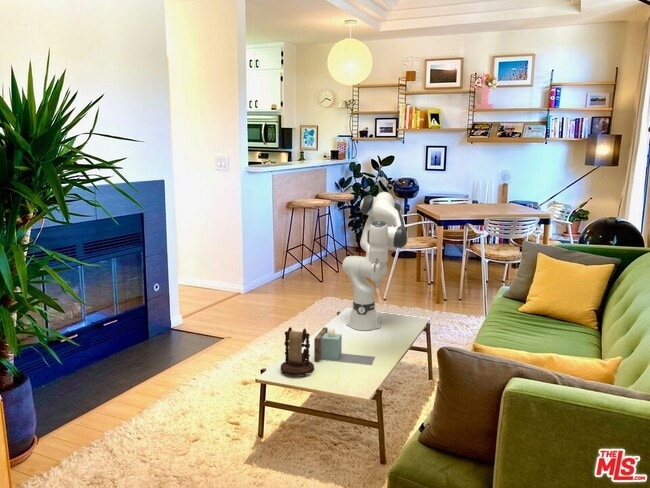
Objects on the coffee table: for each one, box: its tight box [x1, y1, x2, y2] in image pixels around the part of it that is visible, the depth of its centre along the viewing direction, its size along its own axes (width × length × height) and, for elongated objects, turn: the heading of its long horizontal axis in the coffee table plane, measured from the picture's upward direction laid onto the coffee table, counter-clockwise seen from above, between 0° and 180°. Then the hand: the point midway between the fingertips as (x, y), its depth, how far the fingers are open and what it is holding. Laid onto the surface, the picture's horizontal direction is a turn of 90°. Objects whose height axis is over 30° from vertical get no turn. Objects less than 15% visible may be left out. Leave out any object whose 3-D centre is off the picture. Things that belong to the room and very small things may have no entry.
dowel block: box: [321, 328, 343, 360], centre depth 251 cm, size 7×8×13 cm
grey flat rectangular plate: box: [320, 352, 376, 366], centre depth 250 cm, size 10×24×1 cm, turn 75°
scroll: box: [280, 327, 315, 378], centre depth 236 cm, size 15×15×20 cm
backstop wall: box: [313, 327, 329, 363], centre depth 253 cm, size 16×2×12 cm, turn 165°
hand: (377, 286), depth 249 cm, fingers closed
